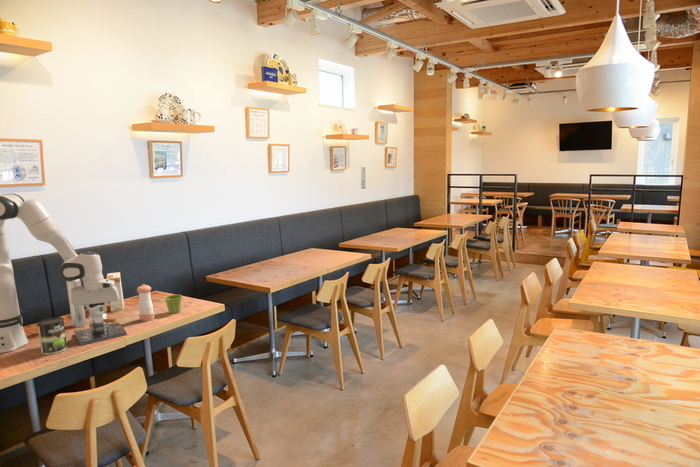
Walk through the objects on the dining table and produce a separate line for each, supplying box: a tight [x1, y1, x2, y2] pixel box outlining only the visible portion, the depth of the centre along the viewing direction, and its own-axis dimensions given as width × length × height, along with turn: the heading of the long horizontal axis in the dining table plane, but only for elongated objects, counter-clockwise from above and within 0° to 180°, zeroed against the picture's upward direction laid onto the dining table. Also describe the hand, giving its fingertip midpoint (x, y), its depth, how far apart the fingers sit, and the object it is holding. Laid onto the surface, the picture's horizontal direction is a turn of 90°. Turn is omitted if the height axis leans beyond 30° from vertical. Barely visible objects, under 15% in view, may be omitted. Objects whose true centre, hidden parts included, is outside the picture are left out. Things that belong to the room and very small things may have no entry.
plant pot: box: [163, 294, 183, 314], centre depth 264 cm, size 9×9×9 cm
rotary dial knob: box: [88, 304, 117, 329], centre depth 232 cm, size 14×10×9 cm
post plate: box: [74, 321, 128, 346], centre depth 234 cm, size 20×19×5 cm
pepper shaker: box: [136, 283, 156, 322], centre depth 253 cm, size 7×7×19 cm
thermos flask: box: [66, 278, 87, 328], centre depth 248 cm, size 6×6×25 cm
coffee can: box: [36, 316, 68, 356], centre depth 215 cm, size 10×10×14 cm
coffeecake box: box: [106, 271, 125, 313], centre depth 277 cm, size 15×7×20 cm, turn 25°
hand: (97, 311), depth 233 cm, fingers closed on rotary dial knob, 5 cm apart
